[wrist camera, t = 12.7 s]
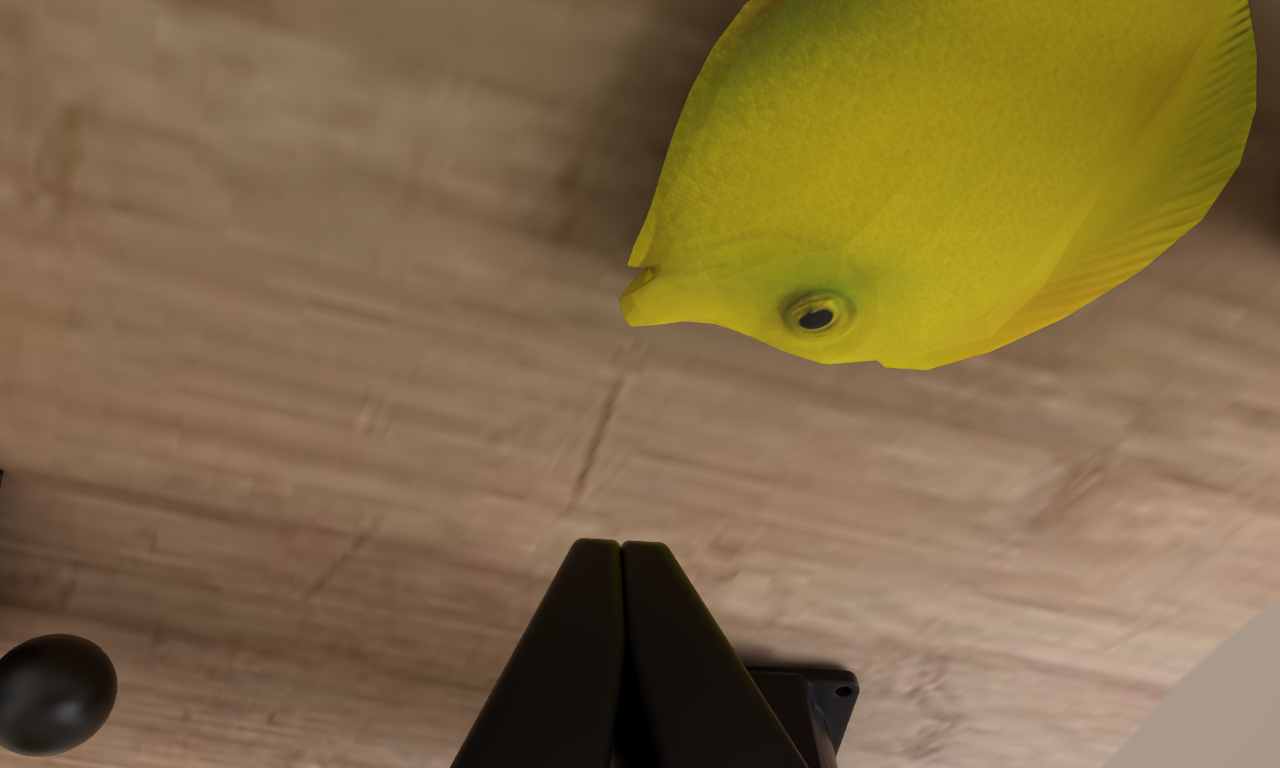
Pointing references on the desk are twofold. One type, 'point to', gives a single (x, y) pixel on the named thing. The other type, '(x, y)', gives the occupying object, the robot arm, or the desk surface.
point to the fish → (938, 168)
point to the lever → (54, 694)
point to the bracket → (0, 475)
